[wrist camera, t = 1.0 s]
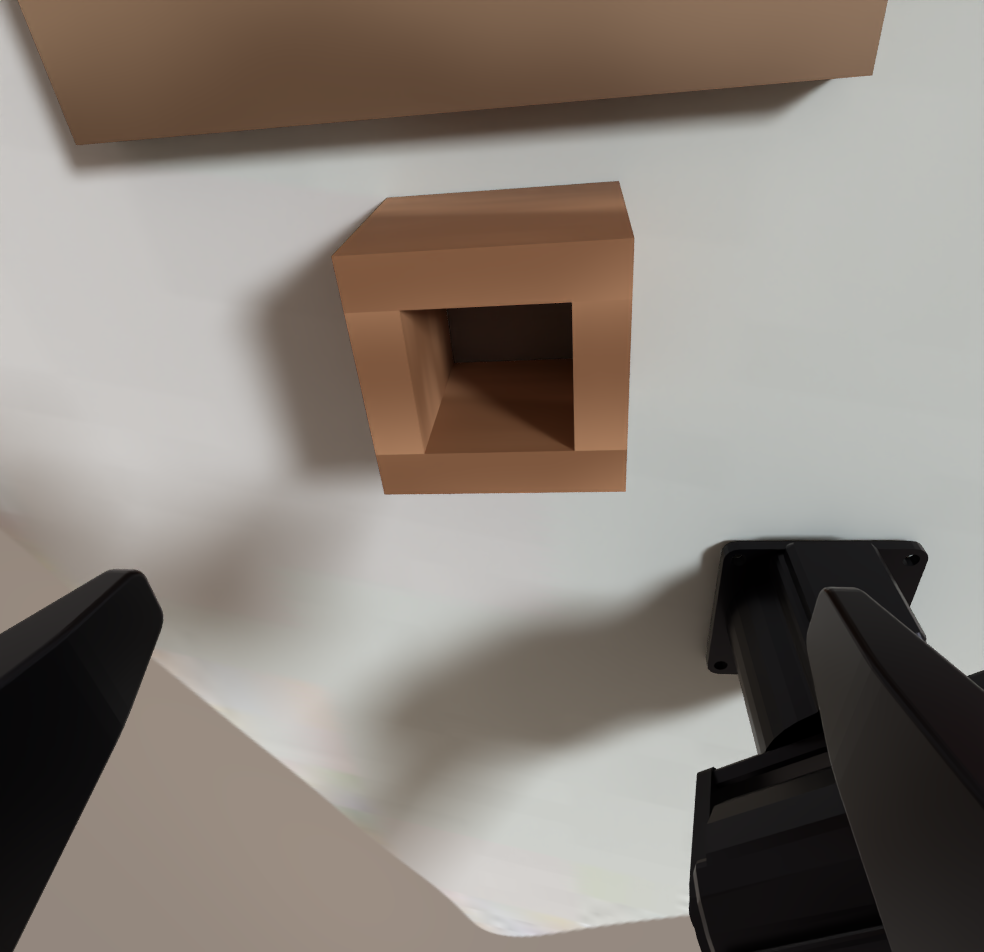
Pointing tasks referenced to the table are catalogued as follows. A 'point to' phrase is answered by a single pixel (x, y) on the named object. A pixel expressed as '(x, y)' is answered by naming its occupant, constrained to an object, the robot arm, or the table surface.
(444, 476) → the bead
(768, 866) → the robot arm
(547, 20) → the wooden board with peg
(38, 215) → the table surface
